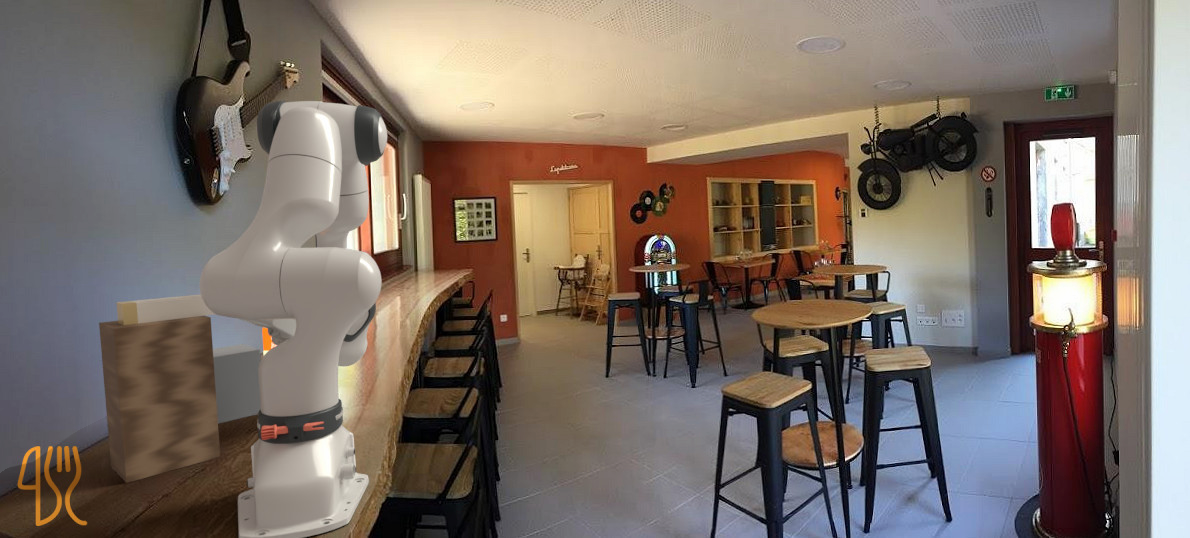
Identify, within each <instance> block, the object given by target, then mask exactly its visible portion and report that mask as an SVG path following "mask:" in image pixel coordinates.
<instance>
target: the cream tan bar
mask: <svg viewBox="0 0 1190 538" xmlns="http://www.w3.org/2000/svg"><path fill="white" fill-rule="evenodd" d="M115 303H116V311H117V313H116V314H117V321H118V323H119V324H122V325H129V324H138V323H146V322H155V321H163V320H172V319H180V318H189V317H197V316H212V315H213V316H214V315H216V314H214V313H213V312H212V311H211V310H210V309H209V308H208V307H207V305H206V304H205V302H204V301H203V299H202V296H201V293H200V294H193V295H182V296H171V297H161V298H148V299H137V300H128V301H127V300H126V301H117V302H115Z"/></svg>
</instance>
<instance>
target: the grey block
mask: <svg viewBox="0 0 1190 538" xmlns="http://www.w3.org/2000/svg"><path fill="white" fill-rule="evenodd" d="M213 359H214V374H215V388H216V403H217V417H218V425H219V424H222V423H226V422H231V421H236V420H239V419H242V418H243V419H244V418H248V417H252V416H257V415H258V412H259V410H260V409H261V405H260V389H259V373H258V368H259V364H260V361H261V359H262V354H261V349H260V348H256V347H253V346H251V345H247V344H245V343H244V344H243V343H242V344H236V345H235V344H234V345H228V346H221V347H216V348H215V347H213Z"/></svg>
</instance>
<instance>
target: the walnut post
mask: <svg viewBox="0 0 1190 538" xmlns="http://www.w3.org/2000/svg"><path fill="white" fill-rule="evenodd" d="M211 318H212V317H210V316H208V315H206V316H197V317H189V318H180V319H172V320H163V321H155V322H146V323H138V324H129V325H122V324H119V323H118V320H112V321H111V320H110V321H103V322H98V326H99V338H100V350H101V351H100V352H101V361H102V375H103V385H104V396H105V397H104V399H105V409H106V420H107V421H106V422H107V435H108V444H109V445H108V446H109V456H110V467H111V466H112V468H113V469H114V470H115V471H116V472H117V473H116V472H115V471H114V470H113V469H112V468H111V469H112V470H113V471H114V472H115V473H116V474H117V475H118V476H119V477H120V478H121V479H122V480H123V481H124V483H126V484H128V483H131V482H135V481H138V480H143V479H146V478H148V477H153V476H156V475H159V474H164V473H167V472H170V471H174V470H178V469H181V468H186V467H189V466H192V465H195V464H198V463H199V464H200V463H203V462H207V461H211V460H214V459H218V458H220V457H221V449H220V447H221V446H220V435H219V433H220V431H219V424H218V417H217V403H216V388H215V374H214V359H213V349H214V347H213V333H212V332H213V331H212V320H211Z"/></svg>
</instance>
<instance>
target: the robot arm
mask: <svg viewBox="0 0 1190 538" xmlns="http://www.w3.org/2000/svg"><path fill="white" fill-rule="evenodd" d="M255 128H256V135H257V136H256V137H257V138H258V143H259V145H260V147H261V149H262V150H263V151H264V152H265V153H266V154H267V155H268V160H267V167H266V175H265V176H266V177H265V181H264V182H265V183H264V187H263V193H262V196H261V202H260V206H259V207H258V208H259V209H258V210H257V212H256V215H255V217H254V218H253V220H252V221H251V223H250V225H249V226H248V227H247V228H246V230H245V231H244V232H243V233H242V235H240V237H238V239H236V241H234V242H233V243H232V244H231V245H229V246H228V247H227V248H225V249H224V250H221V251H220V252H218V253H216V254H215V255H213V256H212V257H211V258H210V259H209V260H208V261H207V263H206V264H205V265H204V266H203V269H202V270H201V274H200V277H199V293H200V294H201V296H202V299H203V301H204V302H205V304H206V305H207V307H208V308H209V309H210V310H211V311H212V312H213V313H214V314H215V315H216V316H220V317H225V318H226V317H227V318H231V319H238V320H241V321H244V322H246V323H249V324H252V325H255V326H258V327H261V328H263V327H264V328H268V334H269V335H270V336H272V342H273V343H274V344H275V345H277V346H275V347H273V348H272V349H270V350H269V351H268V352H267V353H266V354H265V355H264V354H263V356H262V357H261V361H260V364H259V368H258V373H259V389H260V405H261V409H260V410H259V412H258V414H257V419H256V421H257V423H256V426H257V437H258V439H257V440H256V441H255V442H254V443H253V444H252V445H251V446H250V452H251V453H250V455H251V465H252V467H251V469H252V477H248V478H247V480H246V486H247V487H248V488H251V489H248V490H245V491H244V492H241V493H240V494H238V496H237V524H238V526H237V527H238V538H307V537H311V536H315V535H320V534H324V533H327V532H329V531H330V532H331V531H334V530H336V529H339V528H342V527H343V526H346V525H347V524H349V522H351V519H352V517H353V515H354V514H355V511H356V509H357V508H358V506H359V504H360V502H361V499H362V497H363V496H364V493H365V492H366V489H367V487H368V485H369V483H370V479H369V475H367V474H364V473H359V472H357V466H356V465H357V464H356V448H355V440H354V439H355V438H354V437H355V436H354V433H353V432H351V431H350V430H348V429H347V428H346V427H344V425H343V422H344V417H343V414H344V409H343V408H344V407H343V405H342V403H343V402H342V399H340V397H339V396H340V395H339V367H343V368H344V367H350V366H352V365H354V364H357V362H359V361H360V360H361V359H362V358H363V356H364V355H365V353H366V351H367V349H368V348H367V347H368V337H367V336H368V331H369V326H370V324H371V322H372V321H373V319H374V317H375V314H376V312H377V311H376V309H377V305H376V304H377V303H376V302H377V300H378V298H379V296H380V294H381V291H382V284H383V283H382V281H383V280H382V274H381V271H380V268H379V266H378V264H377V262H376V260H375V259H374V258H373V257H372V255H370V254H369V253H368V252H366V251H361V250H357V249H351V248H347V246H348V235H349V233H350V232H352V231H354V230H356V229H357V228H360V227H361V225H363V224H364V223H365V222H366V220H367V218H368V213H369V205H370V204H369V203H370V198H369V197H370V196H369V187H368V186H369V184H368V183H369V182H368V175H367V171H366V170H367V169H366V167H367V166H370V164H371V163H374V162H376V161H378V160H379V159H380V158H381V157H383V155H384V154H385V153H384V152H385V149H386V147H387V143H388V130H387V125H386V124H385V122H384V119H383V115H382V114H381V113H380V112H379V111H378V110H377V109H376V108H373V107H370V106H367V105H366V106H365V105H361V104H358V105H357V106H356V105H351V104H344V103H335V102H323V101H322V100H303V101H302V100H301V101H300V100H299V101H288V102H287V101H286V100H279V101H277V100H276V101H272V102H268V103H266V104H265V105H264V106H263V107H262V108H260V110H259V111H258V114H257V117H256V127H255ZM313 236H315V247H302V246H303V245H305V243H306V242H307V241H308V240H309V239H311V238H312V237H313Z"/></svg>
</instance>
